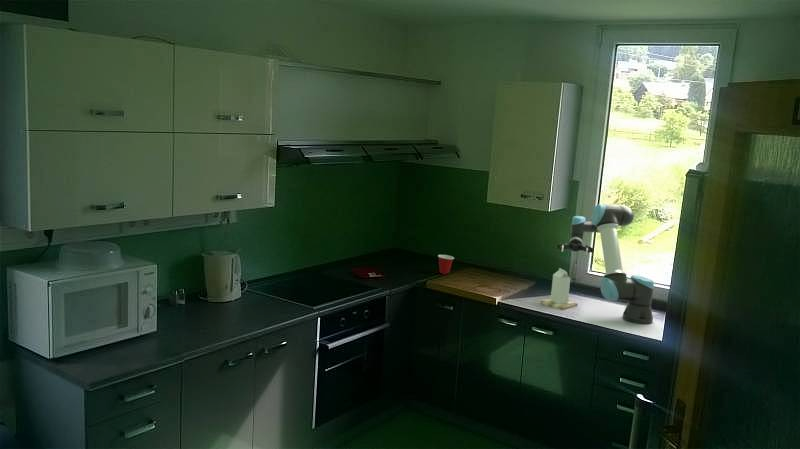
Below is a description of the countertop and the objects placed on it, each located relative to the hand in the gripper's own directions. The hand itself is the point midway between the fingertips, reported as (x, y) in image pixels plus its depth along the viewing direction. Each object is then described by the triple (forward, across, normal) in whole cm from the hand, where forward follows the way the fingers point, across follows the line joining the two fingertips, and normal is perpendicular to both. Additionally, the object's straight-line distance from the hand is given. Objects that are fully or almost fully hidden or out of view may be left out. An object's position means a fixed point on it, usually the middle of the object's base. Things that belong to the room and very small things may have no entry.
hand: (574, 250), depth 360 cm
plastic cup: (-26, +80, -30) cm, 90 cm away
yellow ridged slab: (+10, +5, -30) cm, 32 cm away
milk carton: (+10, +5, -29) cm, 31 cm away
